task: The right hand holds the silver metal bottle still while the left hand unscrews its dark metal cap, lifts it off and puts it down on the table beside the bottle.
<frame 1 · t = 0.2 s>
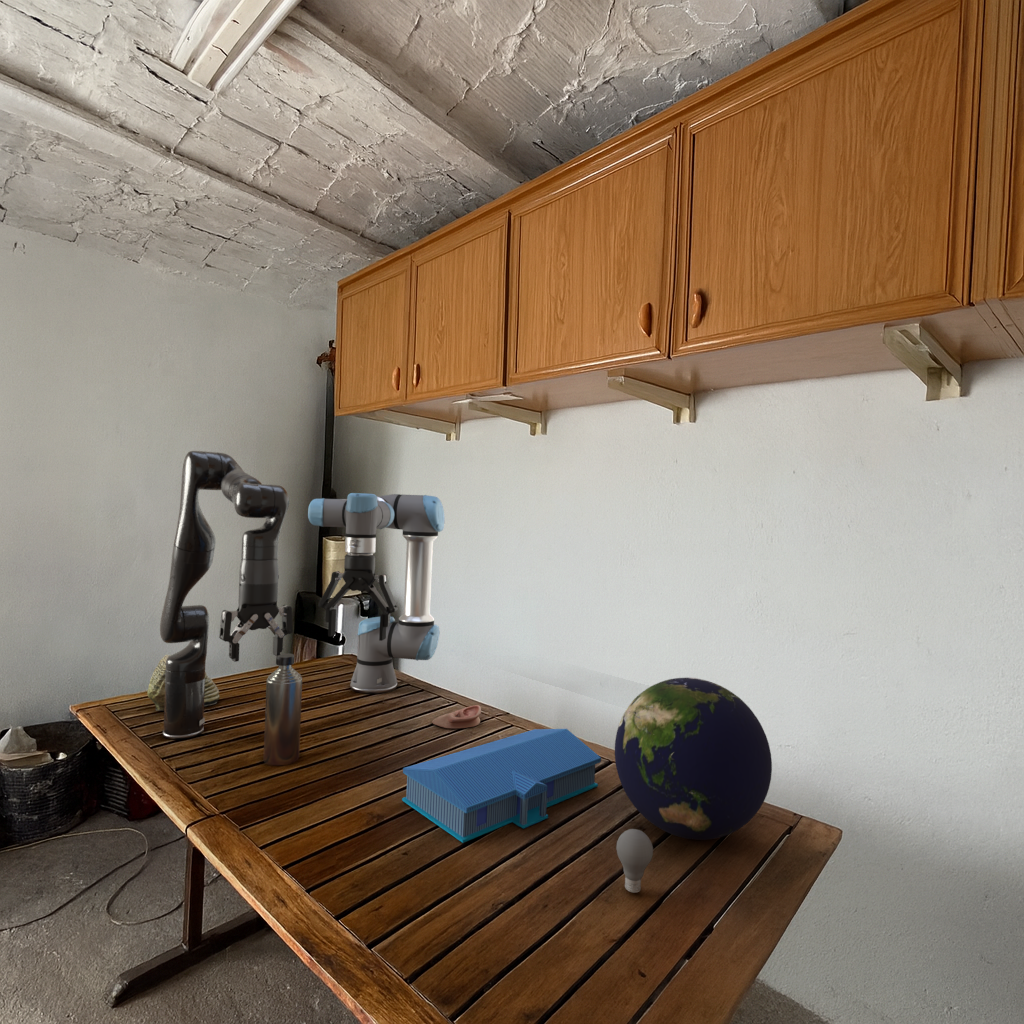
left hand: (256, 657, 132), 29 cm above the table, tool pointing down, fingers open, 8 cm apart
right hand: (356, 637, 161), 28 cm above the table, tool pointing down, fingers open, 13 cm apart
cap: (285, 656, 151), point 25 cm above the table, screwed on, not yet turned
globe: (686, 831, 126), on the table
bottle: (281, 758, 152), on the table
fossil: (183, 706, 185), on the table
anatomical model: (456, 722, 181), on the table
light bulb: (632, 891, 106), on the table
model building: (508, 796, 138), on the table
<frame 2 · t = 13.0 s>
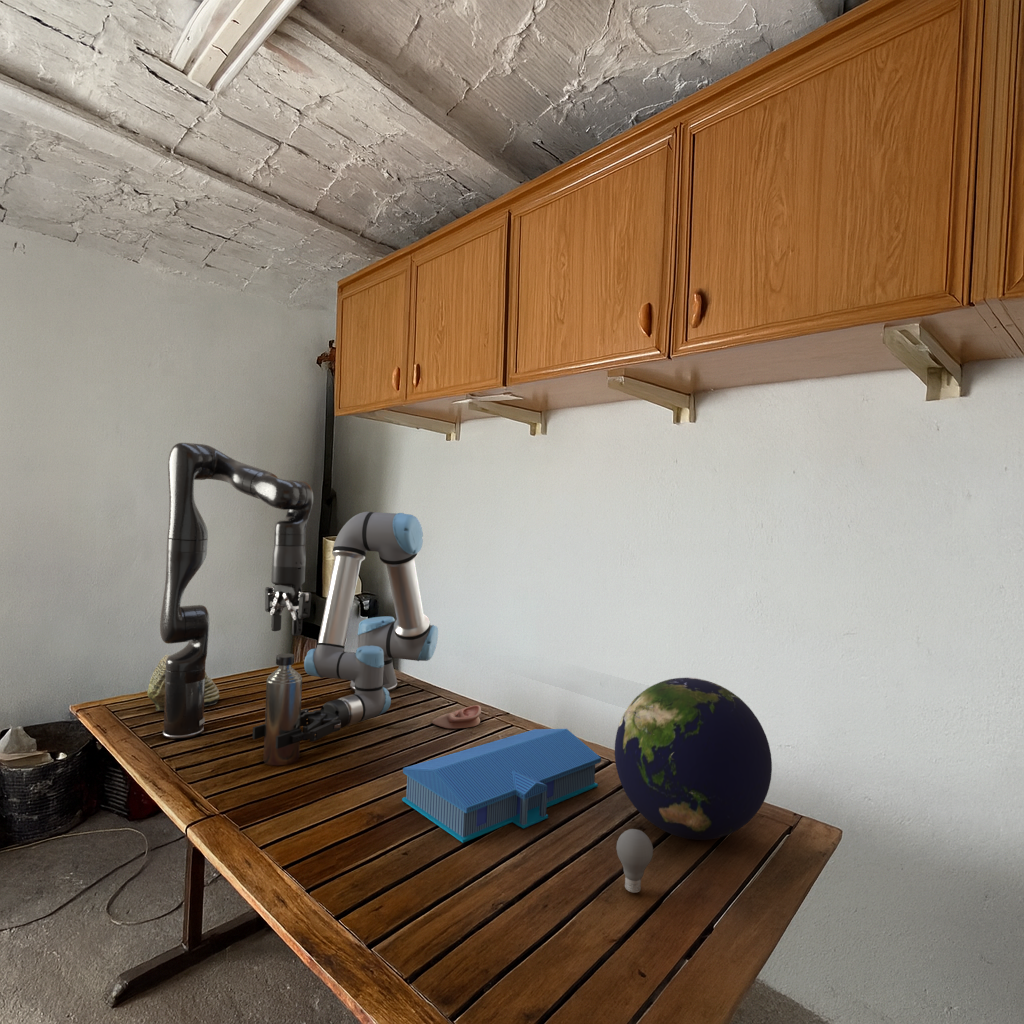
left hand: (286, 632, 151), 30 cm above the table, tool pointing down, fingers open, 6 cm apart
right hand: (265, 737, 148), 6 cm above the table, tool horizontal, fingers closed on bottle, 8 cm apart
bottle: (281, 758, 152), on the table, touching right hand
everything else where it was.
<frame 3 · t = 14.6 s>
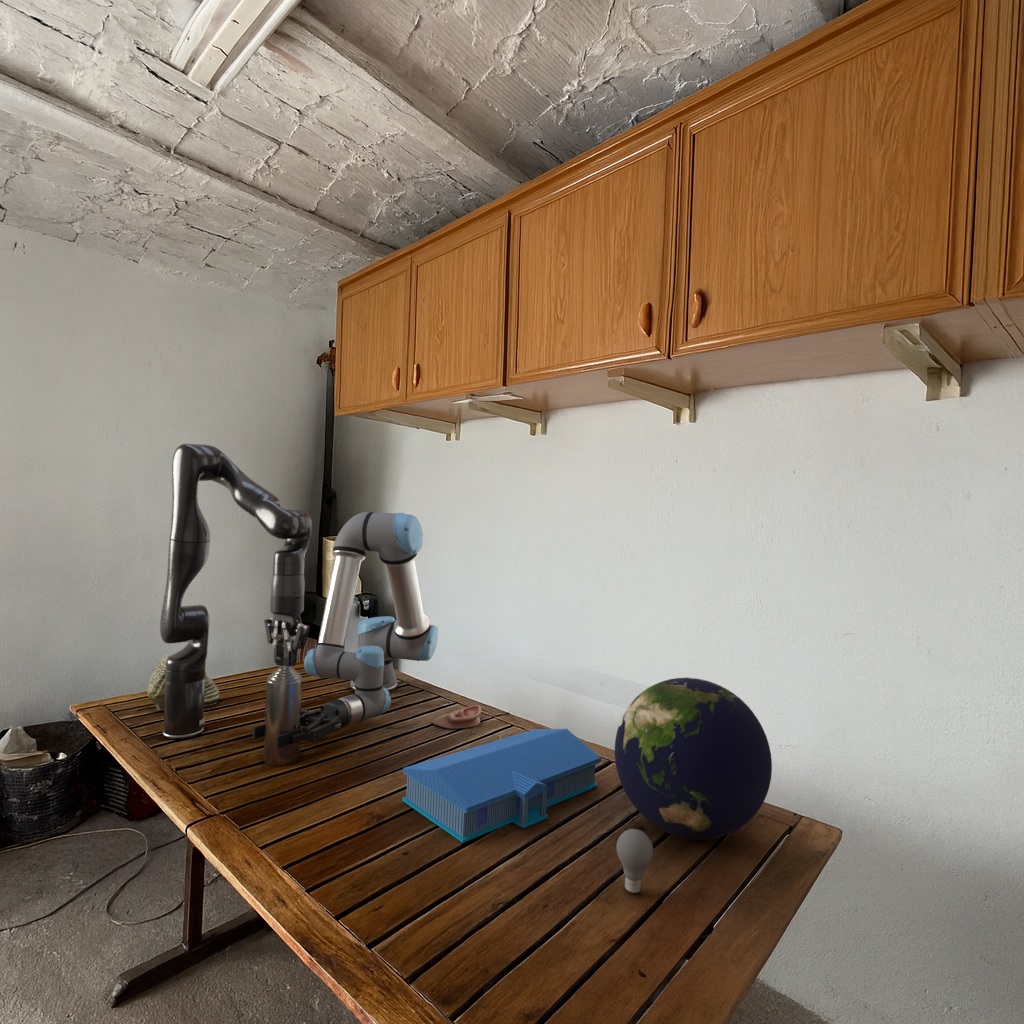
left hand: (285, 663, 152), 23 cm above the table, tool pointing down, fingers closed on cap, 4 cm apart
right hand: (265, 737, 148), 6 cm above the table, tool horizontal, fingers closed on bottle, 8 cm apart
cap: (285, 656, 152), point 25 cm above the table, screwed on, not yet turned, touching left hand
bottle: (281, 758, 152), on the table, touching right hand
everything else where it was.
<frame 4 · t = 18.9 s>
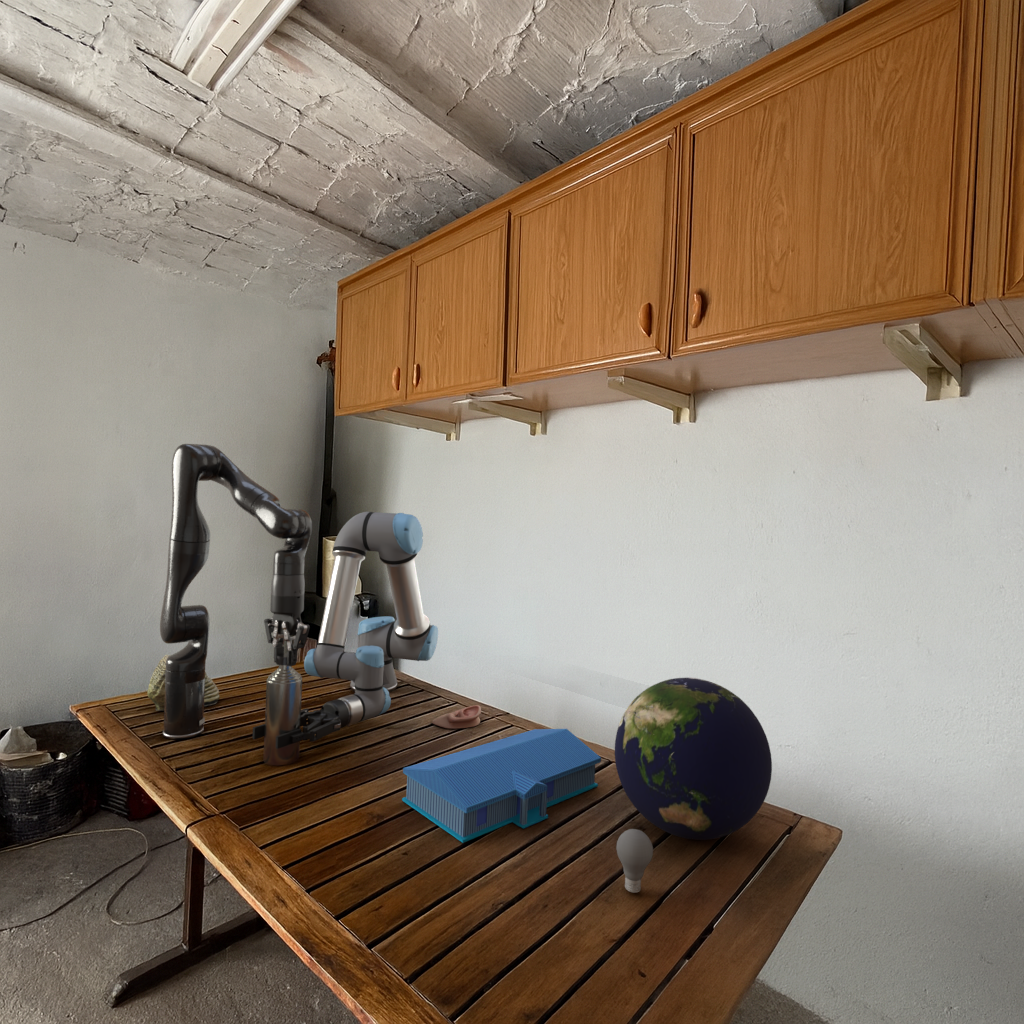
left hand: (285, 663, 152), 23 cm above the table, tool pointing down, fingers closed on cap, 4 cm apart
right hand: (265, 737, 148), 6 cm above the table, tool horizontal, fingers closed on bottle, 8 cm apart
cap: (285, 656, 152), point 25 cm above the table, turned 105° so far, risen 0.1 cm, still on its thread, touching left hand
bottle: (281, 758, 152), on the table, touching right hand
everything else where it was.
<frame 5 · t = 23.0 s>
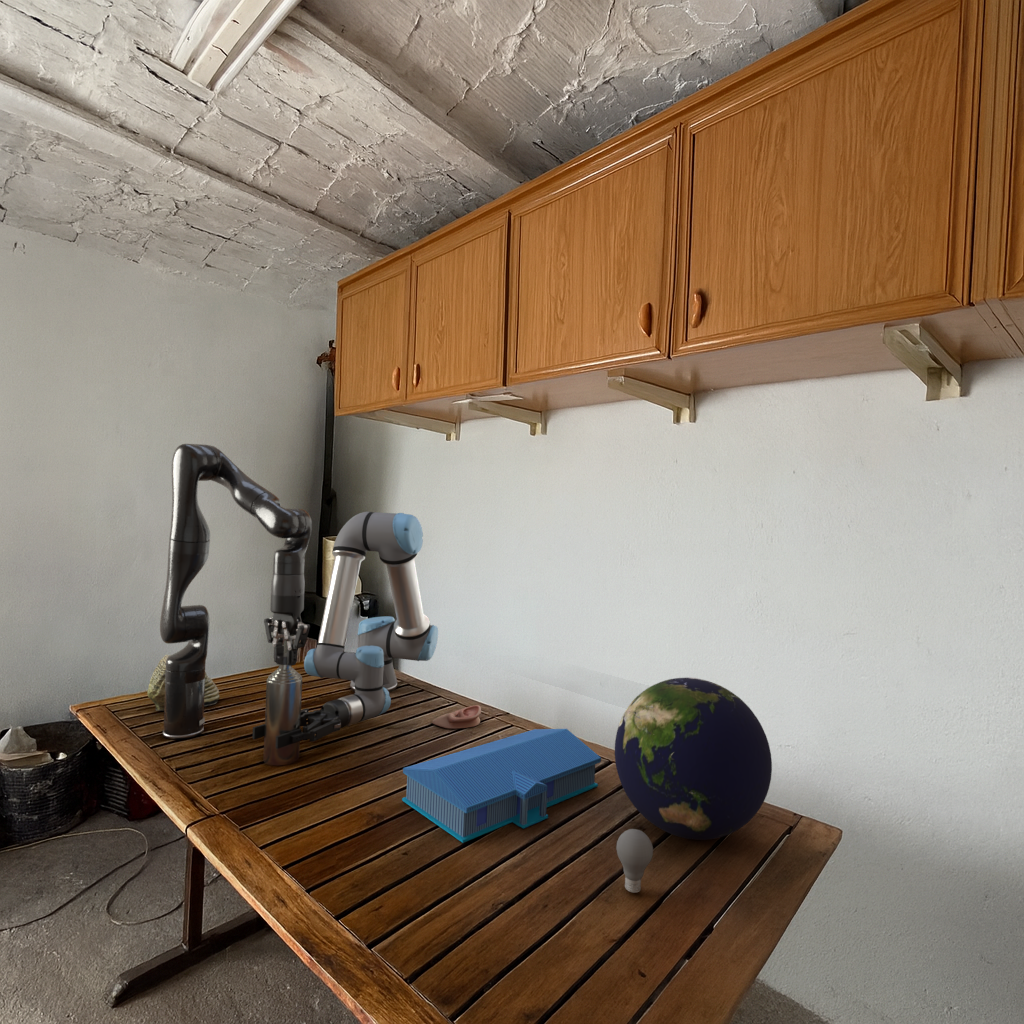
left hand: (285, 663, 152), 23 cm above the table, tool pointing down, fingers closed on cap, 4 cm apart
right hand: (265, 737, 148), 6 cm above the table, tool horizontal, fingers closed on bottle, 8 cm apart
cap: (285, 655, 152), point 25 cm above the table, turned 209° so far, risen 0.2 cm, still on its thread, touching left hand
bottle: (281, 758, 152), on the table, touching right hand
everything else where it was.
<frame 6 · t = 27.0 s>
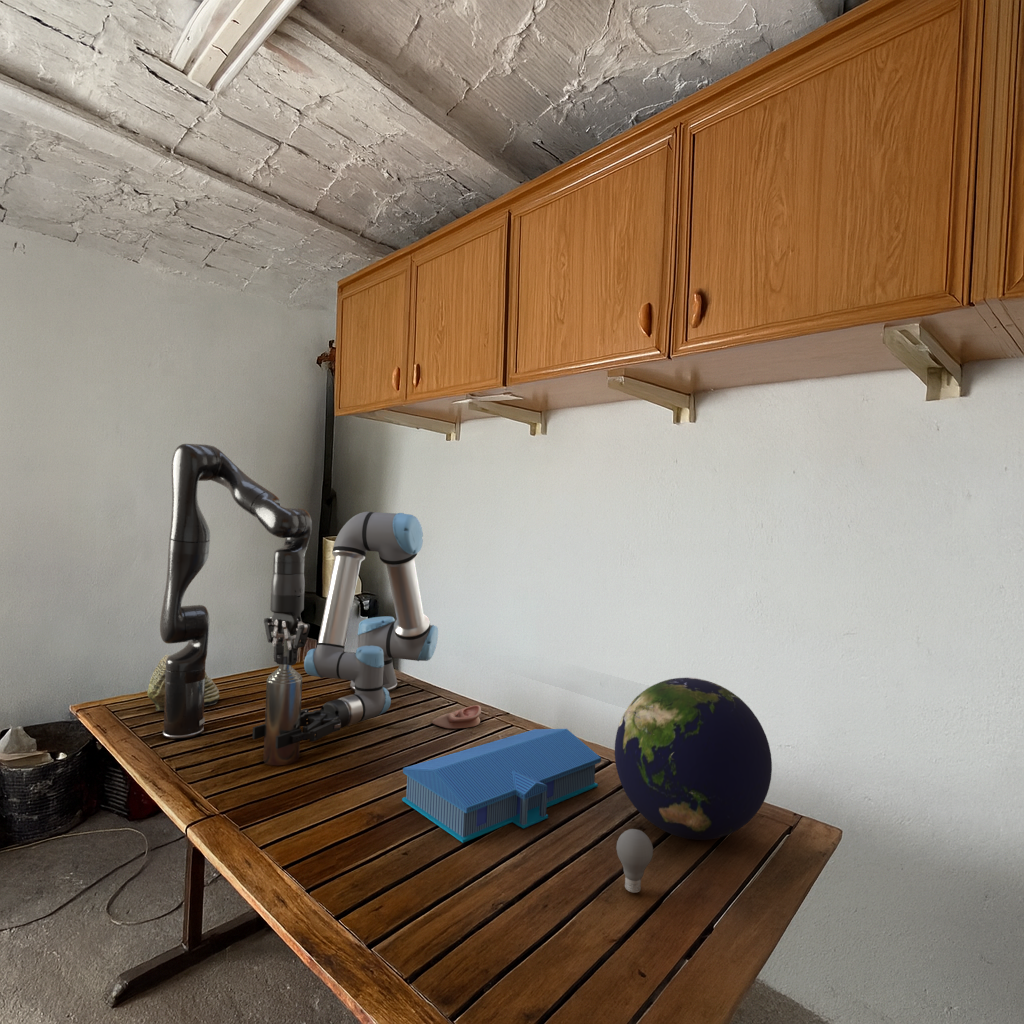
left hand: (285, 662, 152), 23 cm above the table, tool pointing down, fingers closed on cap, 4 cm apart
right hand: (265, 737, 148), 6 cm above the table, tool horizontal, fingers closed on bottle, 8 cm apart
cap: (285, 655, 152), point 25 cm above the table, turned 314° so far, risen 0.3 cm, still on its thread, touching left hand
bottle: (281, 758, 152), on the table, touching right hand
everything else where it was.
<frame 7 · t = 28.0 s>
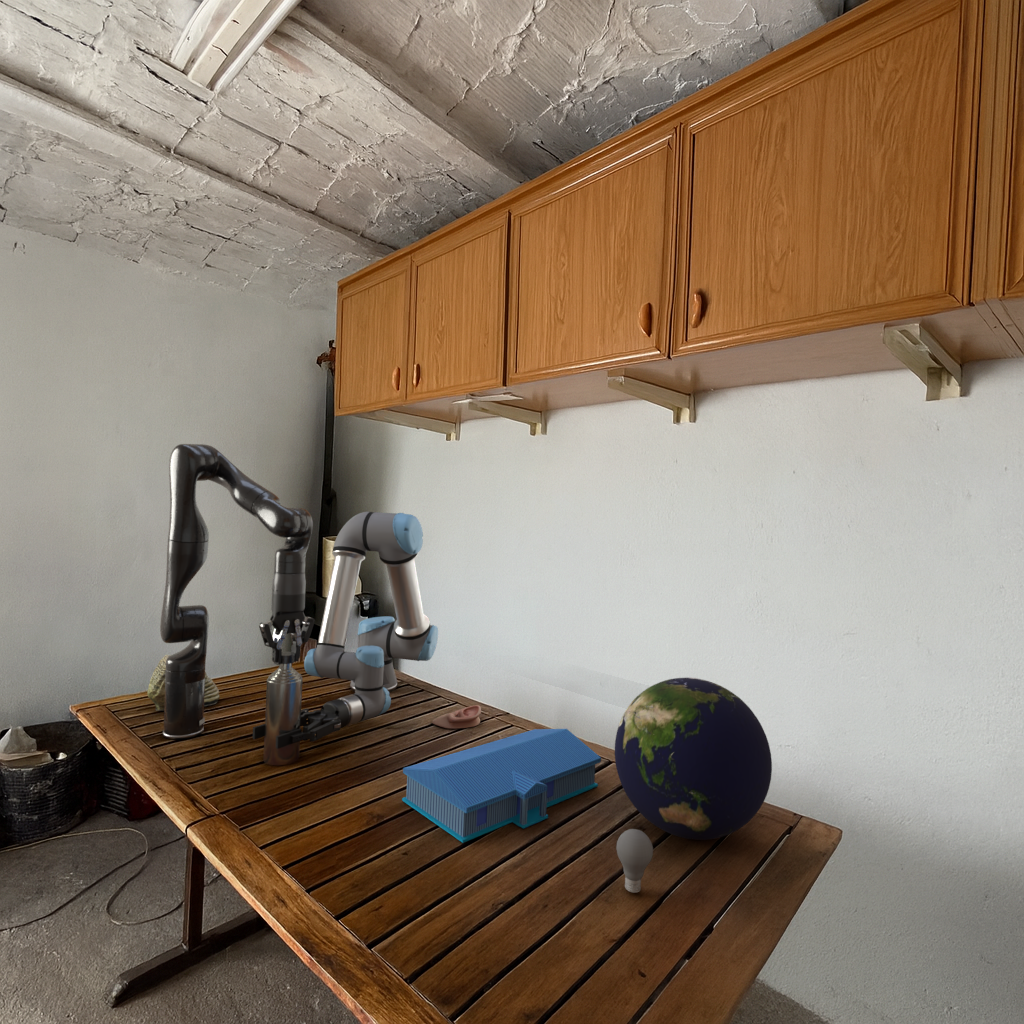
left hand: (286, 662, 152), 23 cm above the table, tool pointing down, fingers closed on cap, 4 cm apart
right hand: (265, 737, 148), 6 cm above the table, tool horizontal, fingers closed on bottle, 8 cm apart
cap: (286, 654, 152), point 25 cm above the table, off its thread, touching left hand
bottle: (281, 758, 152), on the table, touching right hand
everything else where it was.
when the left hand's fingers open (1 cm above the table, at t = 34.4 s): cap drops 2 cm, point 2 cm above the table.
when the right hand's fingers open (6 cm above the table, at t = 35.5 s): bottle stays where it is, on the table.
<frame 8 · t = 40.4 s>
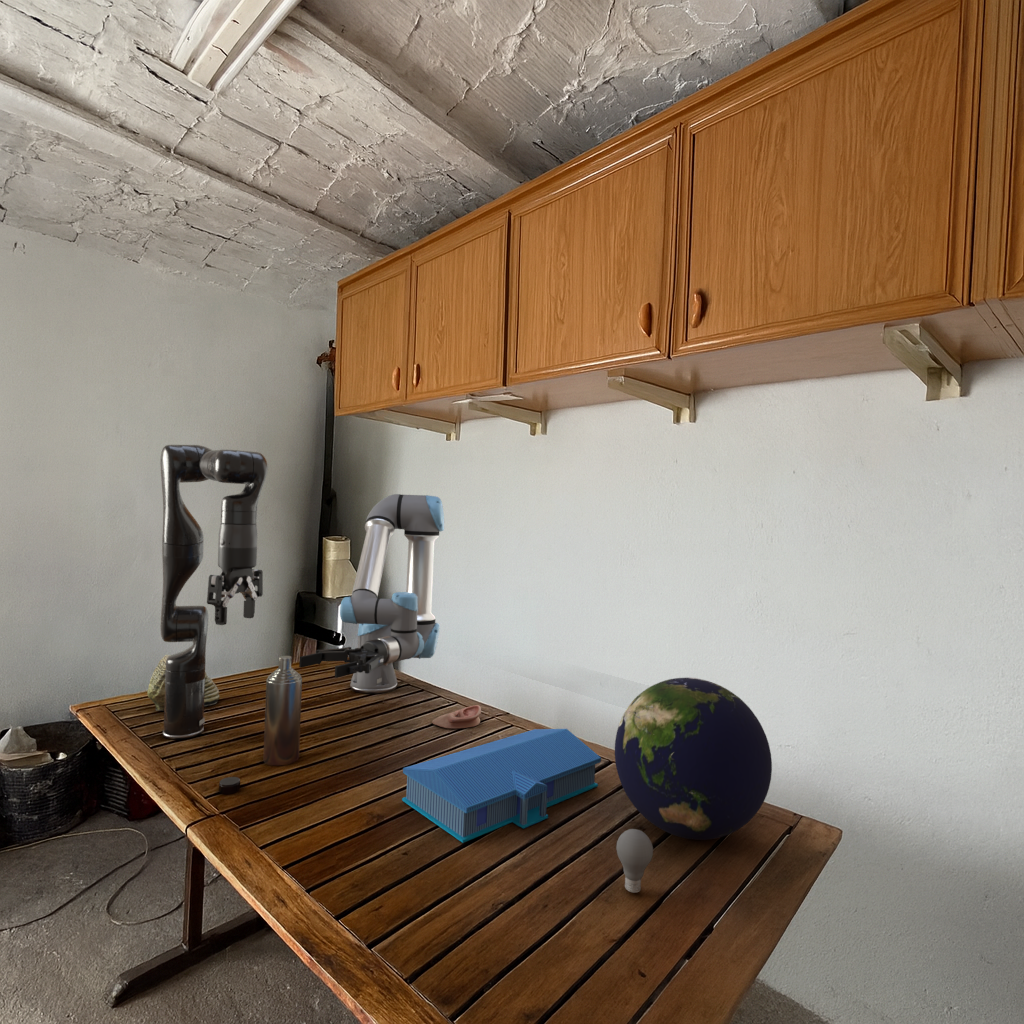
left hand: (235, 621, 134), 36 cm above the table, tool pointing down, fingers open, 8 cm apart
right hand: (317, 667, 160), 20 cm above the table, tool horizontal, fingers open, 13 cm apart
cap: (229, 782, 135), point 2 cm above the table, off its thread
bottle: (281, 758, 152), on the table
everything else where it was.
at the end: cap came off its thread; cap point 1.7 cm above the table; the left hand is holding nothing; the right hand is holding nothing; bottle tilted 0°; bottle moved 0.0 cm from its start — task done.
